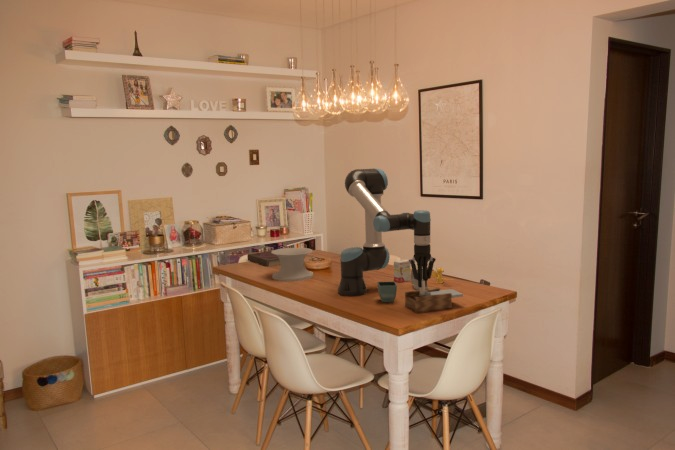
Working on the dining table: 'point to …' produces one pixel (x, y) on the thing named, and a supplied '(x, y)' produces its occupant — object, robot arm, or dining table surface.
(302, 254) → the grey spool stand
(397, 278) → the ink box
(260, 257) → the book
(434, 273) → the figurine
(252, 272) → the dining table surface
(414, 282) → the mug
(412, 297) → the box
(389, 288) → the flower pot
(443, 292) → the lid
